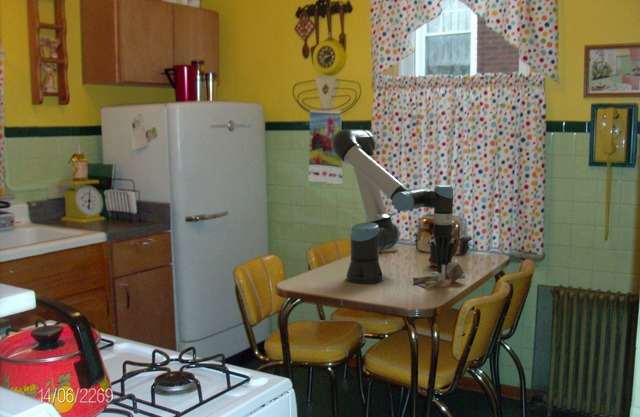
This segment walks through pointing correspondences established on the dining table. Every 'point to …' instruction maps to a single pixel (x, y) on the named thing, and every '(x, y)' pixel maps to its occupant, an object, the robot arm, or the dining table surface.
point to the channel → (431, 282)
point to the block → (453, 272)
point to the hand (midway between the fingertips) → (441, 280)
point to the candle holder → (393, 246)
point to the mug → (436, 248)
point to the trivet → (437, 274)
